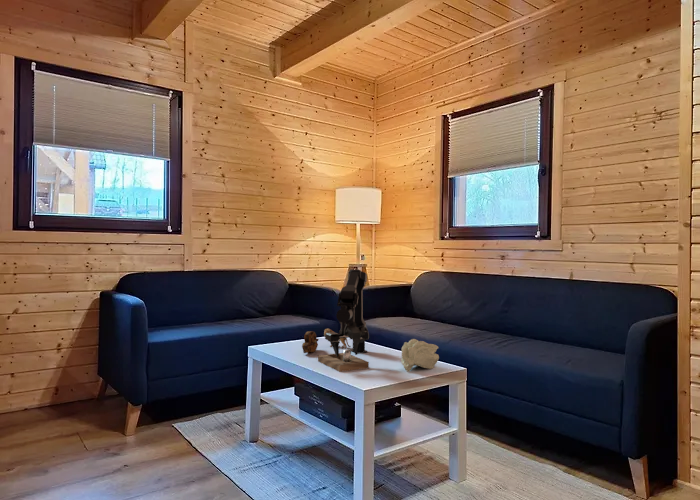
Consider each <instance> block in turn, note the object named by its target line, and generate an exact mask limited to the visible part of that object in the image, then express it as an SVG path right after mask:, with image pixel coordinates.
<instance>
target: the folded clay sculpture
mask: <svg viewBox="0 0 700 500" xmlns="http://www.w3.org/2000/svg"><path fill="white" fill-rule="evenodd" d="M438 349H439V346H438V345H436V344H435V343H434V344H433V343H427V342H426V341H423V340H418V339H416V338H411V339H410V340H408V342H407V341H405V342H403V345H402V347H401V361H400V362H401V365H402V366H403V369H404V370H405V371H406V372H410V371H412V369H413V367H414V366H417V367H421V368H423V369H428V370H431V369H433V368H435V365H437V362H439V359H440V356H439V354H437V353H436V352H437V350H438Z"/></svg>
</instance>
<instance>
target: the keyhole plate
mask: <svg viewBox="0 0 700 500" xmlns="http://www.w3.org/2000/svg"><path fill="white" fill-rule="evenodd" d="M317 362H318V363H321V364H323V365H325V366H326V367H328V368H331V369H333V370H335V371H337V372H340V373H341V372H347V371H358V370H365V369H369V368H370V367H369V364H370V363H369V361H367V360H365V359H362V358H360V357H357V356H356V355H352V354H351V362H344V361H343V352H339V356H338V357H337V356H336V354H335V353H329V354H320V355H319V354H318V355H317Z"/></svg>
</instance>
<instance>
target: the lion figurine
mask: <svg viewBox="0 0 700 500" xmlns="http://www.w3.org/2000/svg"><path fill="white" fill-rule="evenodd" d="M323 331H324V332H323V336H324V337H325V335H326V333H329V332H335V331H333V330H332V329H330V328H325V329H324V330H323ZM338 341H340V342H341V343H342V345H341V347H342V348H343V350H347V347H348V348H351V347H352V346H351V345H349V344H348V343H349V342H348V338H340V339H339V340H338ZM329 347H330V348H333V346H332V345H331V344H330V345H329Z"/></svg>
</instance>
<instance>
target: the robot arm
mask: <svg viewBox="0 0 700 500" xmlns="http://www.w3.org/2000/svg"><path fill="white" fill-rule="evenodd" d="M367 281H368V274H367V273H366V272H365V271H362V270H361V269H350V270H349V271H348V272H347V282H346V284H345V286H343V287H341V290H340V292H339V293H338V296H337V297H338V299H337V303H336V307H340V308H339V310H337V312H336V315H335V317H336V319H337V321H338V322H339V324H340V330H338V333H337V332H335V331H334V332H329V333H326V335H325V336H324V339H325V340H327V342H330V346H331V345H332V346H333V347H332V349H333V351H334V354H336V356H337V357H338V356H339V353H340V351H339V350H340V349H339V348H340V344H341V343H340V342H341V341H338V340H339V339H340V338H347V339H348V338H349V340H351V341H352V349H351V348H350V349H349V350H351V353H352V352H353V353H354V356H357V355H358V354H359V353H368V350H366V349H365V348H366V341H367V340H369V338H370V333H369V330H368V327H367V322H366V320H364V317H363V315H364V314H363V311H364V309H363V301H364V300H363V299H364V298H363V297H364V295H363V293H364V292H363V289H364V288H365V285H367Z"/></svg>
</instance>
